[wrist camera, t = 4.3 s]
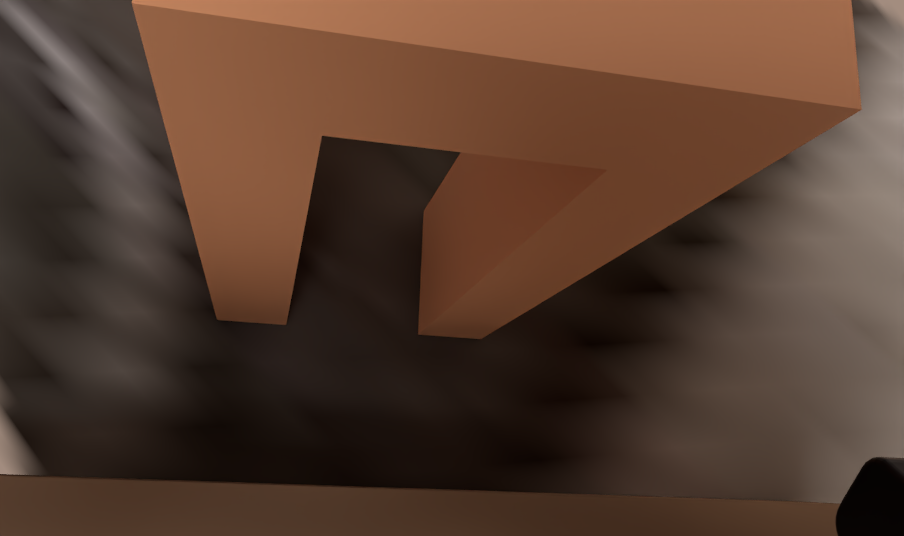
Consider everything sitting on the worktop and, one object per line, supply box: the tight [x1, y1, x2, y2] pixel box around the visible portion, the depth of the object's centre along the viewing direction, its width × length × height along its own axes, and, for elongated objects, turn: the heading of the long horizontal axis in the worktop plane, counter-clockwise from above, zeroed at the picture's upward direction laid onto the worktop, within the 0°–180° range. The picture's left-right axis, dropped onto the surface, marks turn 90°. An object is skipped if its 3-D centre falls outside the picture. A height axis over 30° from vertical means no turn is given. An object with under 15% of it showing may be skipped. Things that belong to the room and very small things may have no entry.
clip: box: [132, 0, 862, 339], centre depth 13 cm, size 3×6×13 cm, turn 87°
